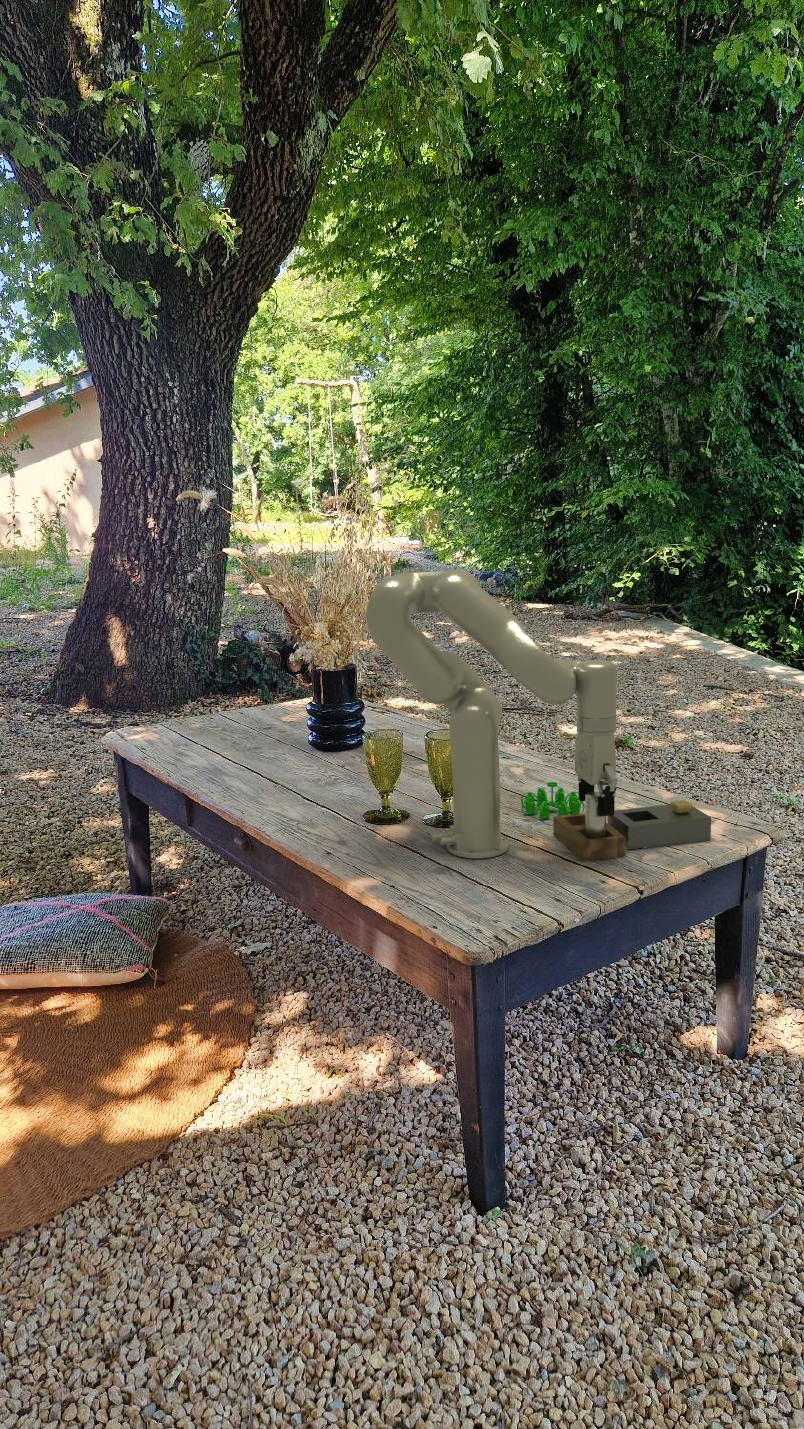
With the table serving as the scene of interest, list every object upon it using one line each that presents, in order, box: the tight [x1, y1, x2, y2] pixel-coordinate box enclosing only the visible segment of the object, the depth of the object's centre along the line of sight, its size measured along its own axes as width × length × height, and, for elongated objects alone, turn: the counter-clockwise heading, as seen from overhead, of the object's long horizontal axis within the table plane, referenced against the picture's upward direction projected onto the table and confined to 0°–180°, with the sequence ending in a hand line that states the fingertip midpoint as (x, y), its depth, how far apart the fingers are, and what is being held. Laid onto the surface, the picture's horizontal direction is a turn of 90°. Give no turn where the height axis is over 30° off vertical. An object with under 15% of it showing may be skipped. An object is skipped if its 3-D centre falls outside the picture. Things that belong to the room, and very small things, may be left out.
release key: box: [669, 799, 693, 814], centre depth 188 cm, size 3×3×6 cm
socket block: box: [607, 804, 712, 851], centre depth 188 cm, size 18×10×5 cm, turn 101°
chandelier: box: [520, 781, 585, 821], centre depth 206 cm, size 15×15×7 cm
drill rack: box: [552, 812, 626, 863], centre depth 185 cm, size 9×16×4 cm, turn 11°
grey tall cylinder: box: [584, 791, 607, 839], centre depth 180 cm, size 4×4×12 cm
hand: (595, 807), depth 180 cm, fingers open, 9 cm apart
